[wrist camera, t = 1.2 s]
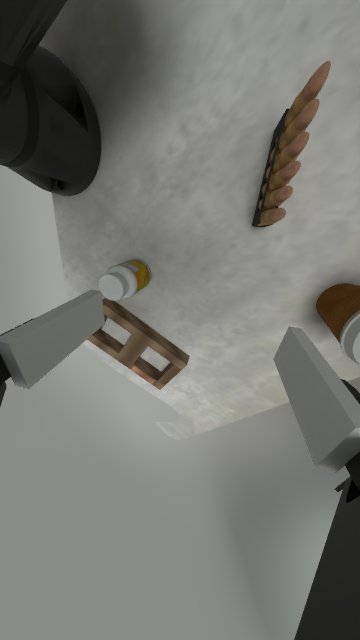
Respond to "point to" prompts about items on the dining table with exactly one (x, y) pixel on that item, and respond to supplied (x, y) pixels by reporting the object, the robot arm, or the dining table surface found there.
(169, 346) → the rack
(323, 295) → the disposable coffee cup
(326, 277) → the dining table surface
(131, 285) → the supplement bottle
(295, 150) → the ammunition clip
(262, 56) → the dining table surface
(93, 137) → the robot arm
